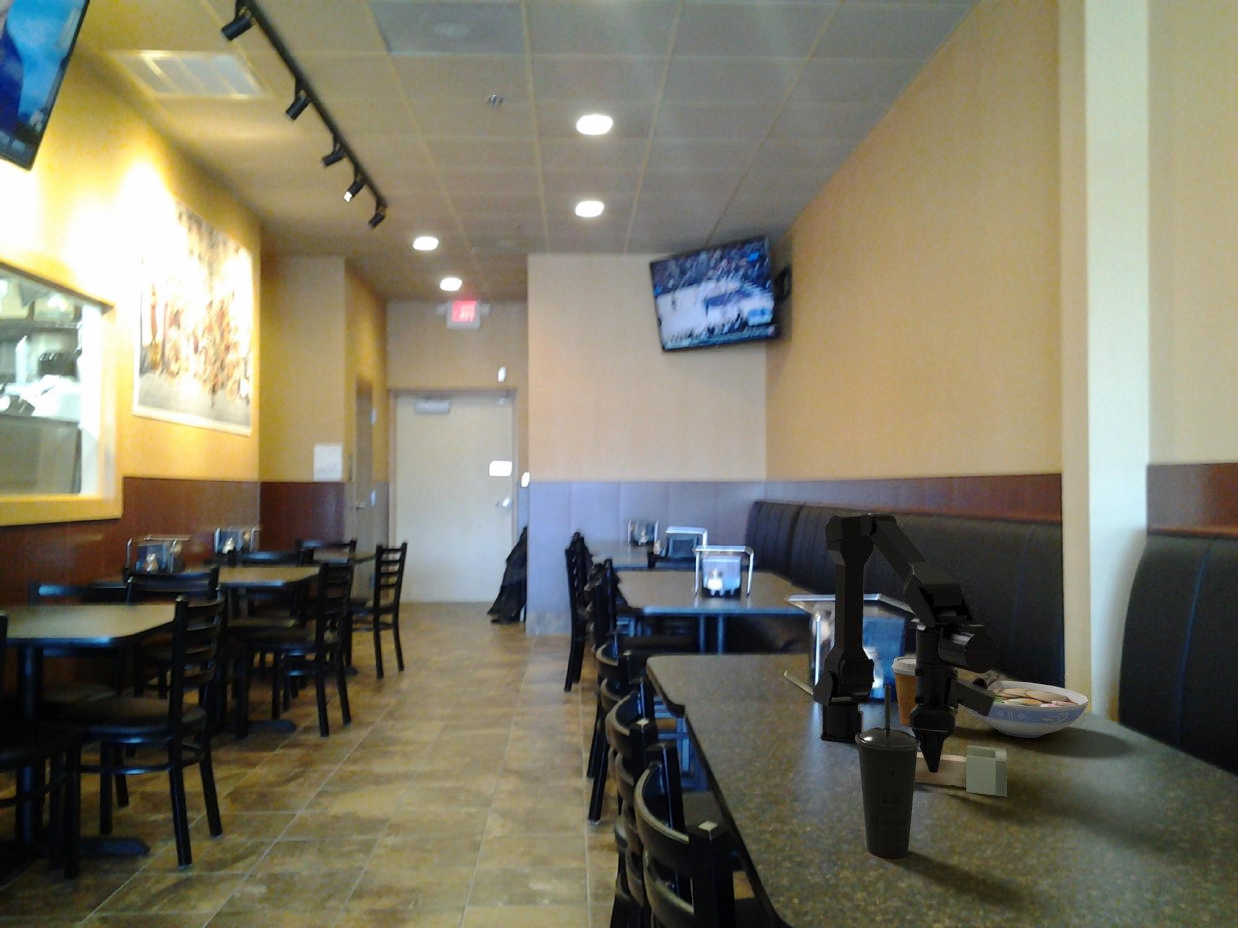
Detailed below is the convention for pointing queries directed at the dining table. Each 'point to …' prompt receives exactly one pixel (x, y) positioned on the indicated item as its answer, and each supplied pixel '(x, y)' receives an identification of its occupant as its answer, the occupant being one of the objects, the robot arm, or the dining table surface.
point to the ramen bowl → (1031, 708)
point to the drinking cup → (887, 785)
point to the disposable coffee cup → (905, 686)
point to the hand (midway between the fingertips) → (935, 764)
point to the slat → (942, 770)
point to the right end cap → (986, 770)
